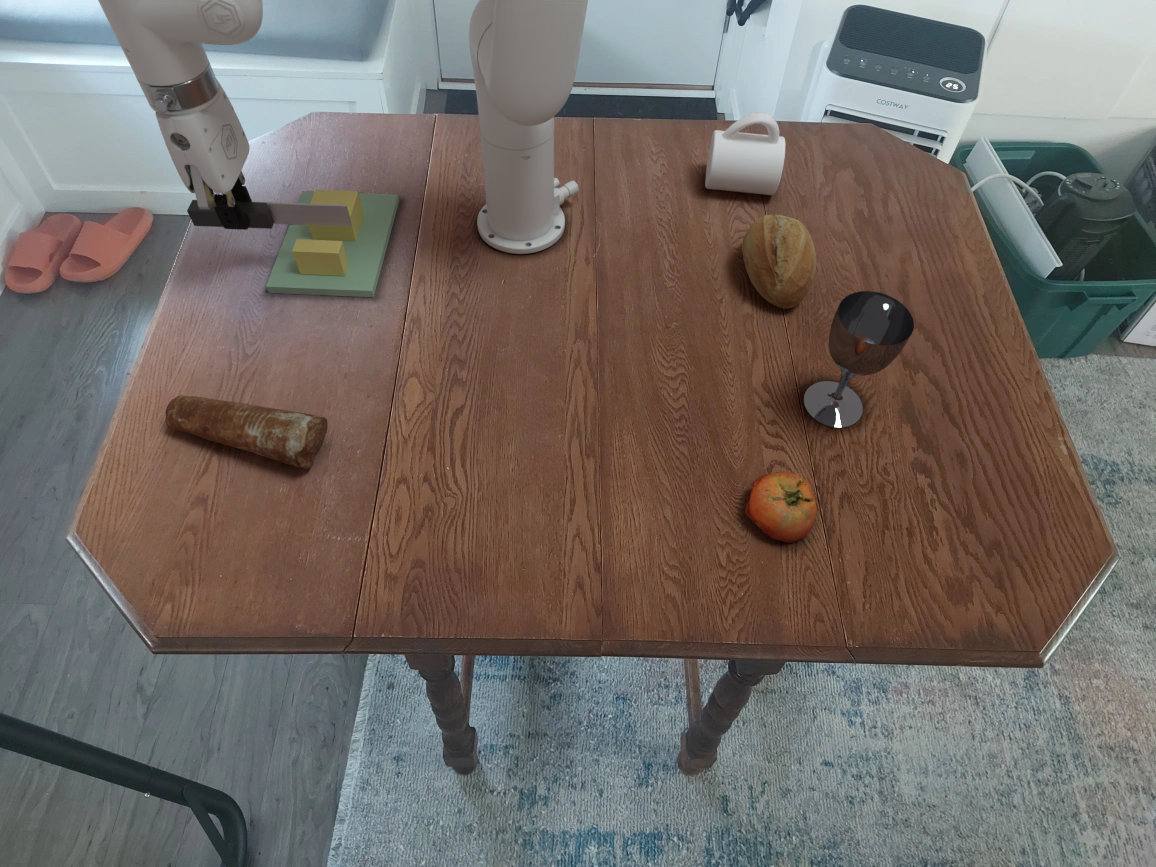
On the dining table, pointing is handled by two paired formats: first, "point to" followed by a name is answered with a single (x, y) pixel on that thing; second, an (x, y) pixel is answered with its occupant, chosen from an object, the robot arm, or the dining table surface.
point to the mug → (746, 157)
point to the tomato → (782, 506)
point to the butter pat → (320, 257)
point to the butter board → (360, 244)
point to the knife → (277, 214)
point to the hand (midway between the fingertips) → (240, 219)
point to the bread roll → (780, 259)
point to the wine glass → (858, 353)
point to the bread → (250, 428)
